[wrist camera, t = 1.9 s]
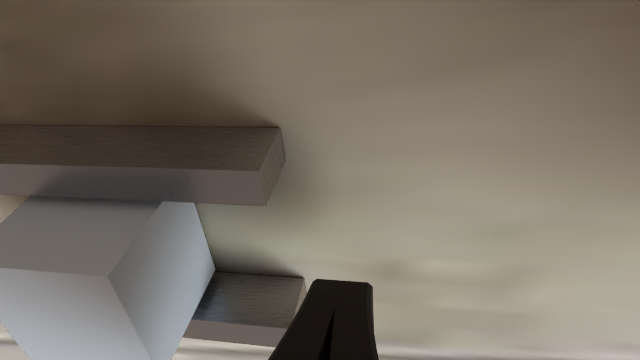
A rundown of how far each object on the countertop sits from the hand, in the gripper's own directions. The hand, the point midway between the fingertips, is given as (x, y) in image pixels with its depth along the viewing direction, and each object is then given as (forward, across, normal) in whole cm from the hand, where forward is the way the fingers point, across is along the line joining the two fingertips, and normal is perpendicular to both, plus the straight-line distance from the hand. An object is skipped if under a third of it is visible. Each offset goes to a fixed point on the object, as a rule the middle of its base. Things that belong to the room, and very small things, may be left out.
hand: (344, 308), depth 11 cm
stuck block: (+3, +7, 0) cm, 7 cm away
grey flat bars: (+3, +7, 0) cm, 7 cm away
